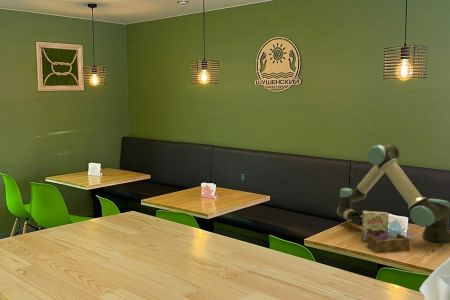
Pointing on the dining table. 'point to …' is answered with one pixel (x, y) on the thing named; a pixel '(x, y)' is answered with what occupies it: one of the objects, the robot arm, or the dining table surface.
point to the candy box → (375, 225)
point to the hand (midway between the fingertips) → (371, 226)
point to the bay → (389, 244)
